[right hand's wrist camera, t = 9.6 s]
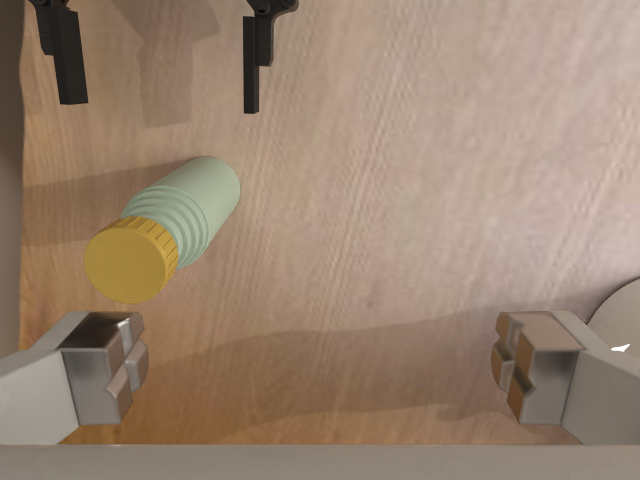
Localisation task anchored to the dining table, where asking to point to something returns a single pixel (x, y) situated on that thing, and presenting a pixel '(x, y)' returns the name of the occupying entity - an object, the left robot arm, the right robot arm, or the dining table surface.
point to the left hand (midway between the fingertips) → (163, 108)
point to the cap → (131, 259)
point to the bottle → (190, 204)
